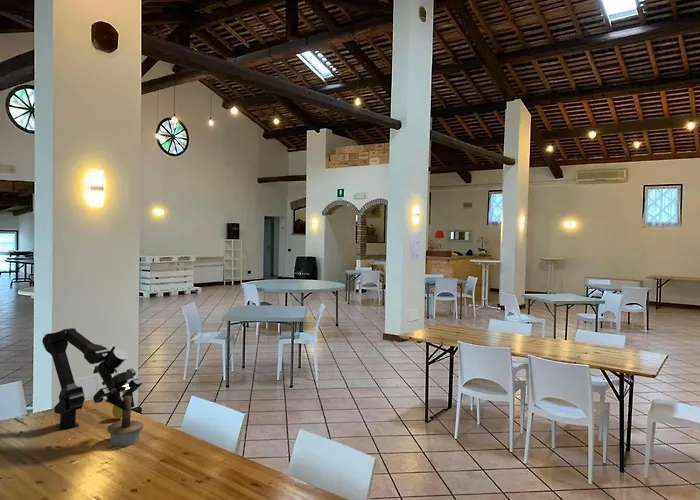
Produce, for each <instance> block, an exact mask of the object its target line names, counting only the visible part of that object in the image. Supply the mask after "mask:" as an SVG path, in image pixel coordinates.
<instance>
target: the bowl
mask: <svg viewBox="0 0 700 500" xmlns="http://www.w3.org/2000/svg"><path fill="white" fill-rule="evenodd" d="M140 436H141V430H140V431H138V432H135V433H131V434H123V435H117V434H111V433H110V439H109V441H110V442H109V444H111V445H112V446H116V447H124V446H125V447H126V446H131V445H135V444H137V443H138V442H139V441H140V439H139V438H141V437H140ZM137 441H138V442H137ZM134 443H135V444H134Z"/></svg>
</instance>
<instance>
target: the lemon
mask: <svg viewBox="0 0 700 500" xmlns="http://www.w3.org/2000/svg"><path fill="white" fill-rule="evenodd" d="M111 411H112V413H111V414H112V416H113V417H114V418H115V419H118V420H121V419H122V409H121V408H119V407H117V406H115V405H113V407H112V410H111Z"/></svg>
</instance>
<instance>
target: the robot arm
mask: <svg viewBox="0 0 700 500" xmlns="http://www.w3.org/2000/svg"><path fill="white" fill-rule="evenodd" d="M41 341H42V345H43V347H44V350H45V351H46V352H47V353H48V354H49V355H50V356H51V358H52V361H53V365H54V366H55V370H56V374H57V378H58V381H59V386H60V392H59V396H58V400H59V402H58V403H57V404H56V405H55V406H54V407H53V411H54V413H55V414H59V423H56V424H55V426H56V428H59V429H60V430H67V429H71V428H76V427H79V426H80V424H79V423H78V422H76V421H77V411H78V410H80V409H83V407H84V406H83V405H84V403H85V400H86V399H85V396H86V395H85V392H84V390H83V389H84V388H83V387H82V385H81V386H78V385H77V384H76V382H75V379H74V376H73V373H72V368H71V365H70V362H69V358H68V354H67V348H68V346H69V345H68V344H70V345H72V346H73V347H74V348H76V349H77V350H79V351H80V352H81V353H82V354H83V358H84V360H86V361H87V363H89V364H90V365H95V364H98V365H95V366H94V369H93V374H99V376H100V377H101V379H102V382H101V385H102V386H105V387H102V388H100V389H98V391H97V392H96V393H94V395H93V398H92V399H93V402H94V404H99V403H102V402H103V400H104V398H105V397H106V400H105V403H109V404H110V405H113V406H114V405H115V406H117V407H119V408H121V409H122V410H124V411H125V410H126V406H125V404H124V402H123V397H124V396H132V400H131V409H132V408H134V407H135V403H134V402H135V401H134V392H135V391H137V390H138V389H139V387H141V385H143V381H142V379H141V378H135V379H134V377H135V376H136V374H137V373H136V370H135V369H134V368H133V367H131V368H130V367H129V368H128V369H126V371H123V372H121V371H118V370H117V369H118V368H119V367H120V366H121V365H122V364H123V363H124V362H125V361H126V360H127V359H128V357H129V354H128V351H127V350H125V349H124V348H122V347H120V346H119V345H114V346H112V347H111V349H110V350H109V348H107V347H106V346H103V345H100V344H97V343H96V344H95V343H93V342H92V341H91V340H89V339H88V338H86V337H85V336H84V335H82V334H81V333H79V332H78V331H77V329H76V328H74V327H71V328H64V329H61V330H59V331H56V332H51V333H46V334H45V335H44V336H43V337H42V340H41ZM129 380H130V381H129ZM121 393H122V395H121Z"/></svg>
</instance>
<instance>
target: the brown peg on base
mask: <svg viewBox="0 0 700 500" xmlns="http://www.w3.org/2000/svg"><path fill="white" fill-rule="evenodd" d="M122 400H123V402H124V404H125V406H126V410H125V411H124V410H122V417H121V421H116V422H113V423H111V424H109V425H108V426H107V432H108V433H109V434H110V435H111V434H117V435H123V434H131V433H135V432H138V431H140V432H141V430H144V429H143V428H144V423H143V422H142V421H139V420H131V417H132V414H131V413H132V407H131V400H132V396H124V397H123V398H122Z"/></svg>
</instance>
